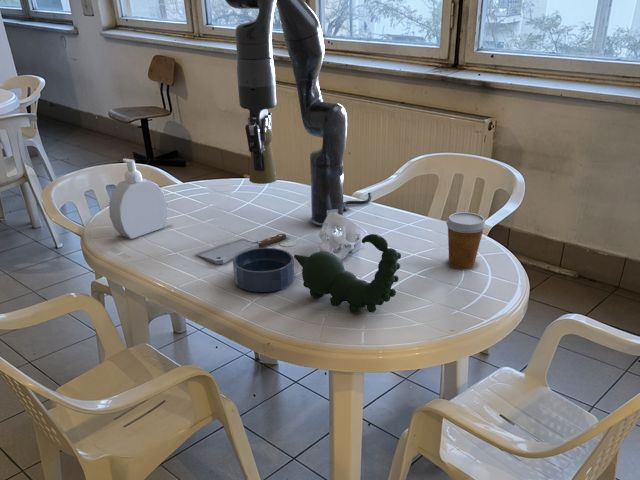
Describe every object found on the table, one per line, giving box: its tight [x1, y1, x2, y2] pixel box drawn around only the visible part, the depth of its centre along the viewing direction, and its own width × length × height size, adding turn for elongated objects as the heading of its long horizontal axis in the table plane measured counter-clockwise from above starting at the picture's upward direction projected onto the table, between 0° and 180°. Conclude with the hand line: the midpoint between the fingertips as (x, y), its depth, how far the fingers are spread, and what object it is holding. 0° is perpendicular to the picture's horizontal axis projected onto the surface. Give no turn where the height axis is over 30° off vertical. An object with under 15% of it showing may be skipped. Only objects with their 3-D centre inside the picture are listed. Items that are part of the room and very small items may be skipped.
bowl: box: [232, 247, 296, 293], centre depth 146 cm, size 14×14×6 cm
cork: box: [249, 128, 278, 185], centre depth 132 cm, size 6×6×11 cm
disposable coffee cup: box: [445, 211, 487, 270], centre depth 152 cm, size 10×10×12 cm
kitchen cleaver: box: [196, 233, 287, 265], centre depth 164 cm, size 24×1×10 cm
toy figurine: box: [293, 233, 402, 314], centre depth 133 cm, size 9×19×25 cm
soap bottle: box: [108, 158, 169, 240], centre depth 170 cm, size 16×5×20 cm, turn 141°
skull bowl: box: [317, 212, 369, 261], centre depth 160 cm, size 10×14×12 cm
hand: (262, 167), depth 133 cm, fingers closed on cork, 4 cm apart
